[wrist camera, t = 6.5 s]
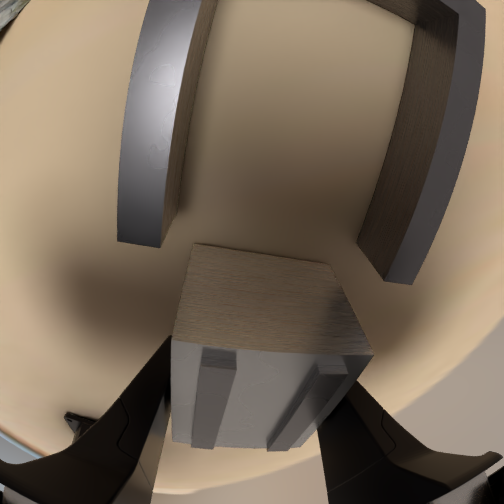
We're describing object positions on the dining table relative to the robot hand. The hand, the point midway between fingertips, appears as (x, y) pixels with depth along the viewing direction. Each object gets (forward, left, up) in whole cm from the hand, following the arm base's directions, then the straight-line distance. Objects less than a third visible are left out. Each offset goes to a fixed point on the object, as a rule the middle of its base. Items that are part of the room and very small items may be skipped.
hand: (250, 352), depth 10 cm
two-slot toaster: (0, 0, -2) cm, 2 cm away
